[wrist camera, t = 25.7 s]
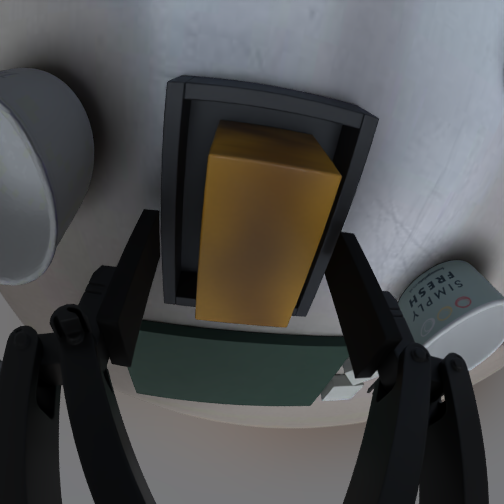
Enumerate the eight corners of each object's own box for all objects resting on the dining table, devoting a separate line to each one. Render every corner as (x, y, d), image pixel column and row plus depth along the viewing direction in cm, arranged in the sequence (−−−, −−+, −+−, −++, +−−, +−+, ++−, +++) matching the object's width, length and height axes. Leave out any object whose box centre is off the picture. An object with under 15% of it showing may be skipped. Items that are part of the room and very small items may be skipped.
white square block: (350, 374, 32) (352, 385, 31) (341, 360, 30) (344, 373, 29) (381, 362, 31) (385, 374, 30) (376, 347, 29) (380, 360, 28)
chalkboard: (138, 385, 33) (136, 393, 32) (117, 315, 25) (114, 326, 24) (309, 397, 36) (310, 405, 35) (352, 336, 27) (355, 346, 26)
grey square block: (320, 390, 34) (321, 400, 33) (331, 375, 32) (333, 386, 31) (348, 388, 35) (350, 399, 34) (361, 374, 33) (364, 385, 31)
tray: (171, 272, 22) (164, 303, 19) (180, 75, 13) (166, 81, 11) (300, 285, 23) (306, 317, 20) (357, 105, 14) (379, 118, 12)
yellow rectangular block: (204, 255, 20) (194, 320, 16) (219, 119, 14) (208, 153, 10) (278, 263, 21) (287, 328, 16) (313, 134, 15) (343, 176, 11)
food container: (457, 223, 19) (502, 280, 14) (497, 278, 24) (527, 324, 18) (356, 316, 25) (375, 379, 20) (419, 345, 30) (437, 393, 25)
